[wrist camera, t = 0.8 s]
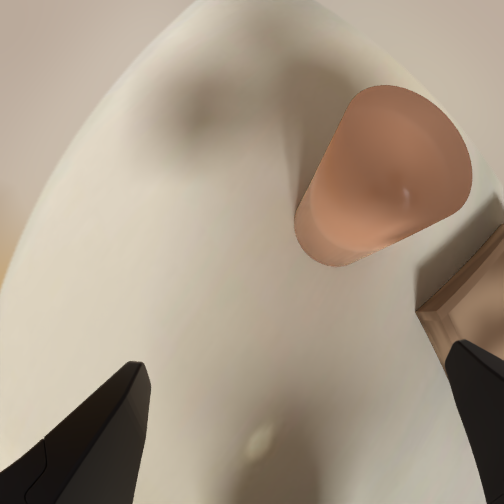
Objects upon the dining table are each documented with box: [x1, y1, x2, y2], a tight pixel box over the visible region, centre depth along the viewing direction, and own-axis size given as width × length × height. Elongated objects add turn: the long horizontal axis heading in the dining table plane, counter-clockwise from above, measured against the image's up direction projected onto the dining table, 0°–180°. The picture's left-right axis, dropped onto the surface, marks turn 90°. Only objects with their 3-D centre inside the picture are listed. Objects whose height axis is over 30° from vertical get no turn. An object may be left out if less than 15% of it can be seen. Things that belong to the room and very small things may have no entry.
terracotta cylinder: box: [294, 85, 472, 267], centre depth 16 cm, size 6×6×12 cm
